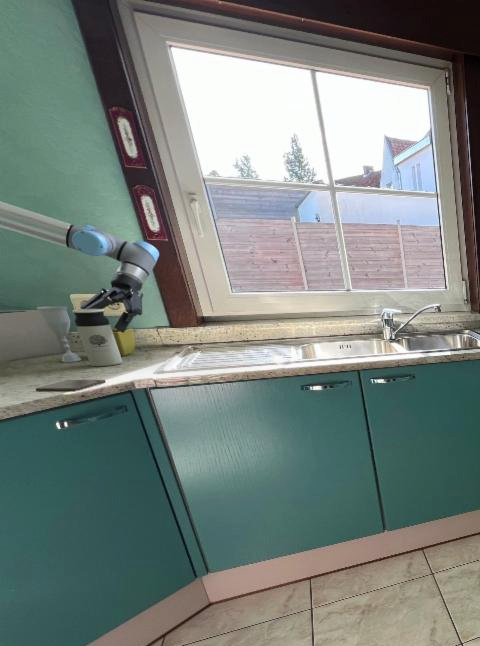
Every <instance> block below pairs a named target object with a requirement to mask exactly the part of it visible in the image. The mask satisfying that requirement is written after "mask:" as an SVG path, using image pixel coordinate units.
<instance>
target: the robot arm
mask: <svg viewBox="0 0 480 646" xmlns="http://www.w3.org/2000/svg"><path fill="white" fill-rule="evenodd" d="M0 228H1V229H6V230H8V231H12V232H15V233H18V234H22V235H24V236H28V237H32V238H35V239H39V240H42V241H46V242H48V243H52V244H55V245H58V246H62V247H64V248H68V249H72V250H75V251H78V252H80V253H82V254H83V255H86V256H87V255H88V256H91V257H100V256H104V257H105V256H106V257H108V258H110V259H113V260H116V261H117V262H120V265H119V266H118V268H117V269H116V271H115V274H114V275H113V276H112V278H111V280H110V282H109V283H110V285H111V287H110V288H109V289H106V288H104V287H100V289H99V290H98V291H97V292H96V294H95V295H93V296H92V297H90V298H89V299H88V300H87V301H86V302H85V303H83V304H82V305H81V306H80V308H79V309H103V310H105V309H106V308H107V307H108V306H110V305H115V304H118V303H120V304H123V306H124V311H123V312H122V313H121V315H120V317H119V318H118V320H117V322H116V324H115V326H114V328H113V329H117V330H119V331H121V332H123V333H124V332H125V330H126V329H128V326H129V325H130V324H131V322H132V321H133V319H134V317H136V316H142V315H143V298H144V293H142V291H141V290H142V289H143V286H144V284H145V283H146V280H147V279H148V277H149V276H150V274H151V272H152V271H153V269H154V268H155V266H156V264H157V261H158V259H159V256H160V252H159V250H158V249H157V248H156V247H155V246H153V245H152V243H151V244H150V243H149V242H147V241H142V240H135V241H134V242H132V243H131V242H129V241H126V240H124V239H121V238H119V237H117V236H115V235H113V234H110V233H108V232H106V231H103V230H102V229H100V228H98V227H95V226H92V225H84V226H83V227H82V226H80V225H79V226H78V225H75V224H72V223H69V222H66V221H62V220H60V219H56V218H53V217H51V216H47V215H44V214H41V213H39V212H34V211H31V210H29V209H26V208H23V207H19V206H16V205H13V204H10V203H7V202H4V201H0Z"/></svg>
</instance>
